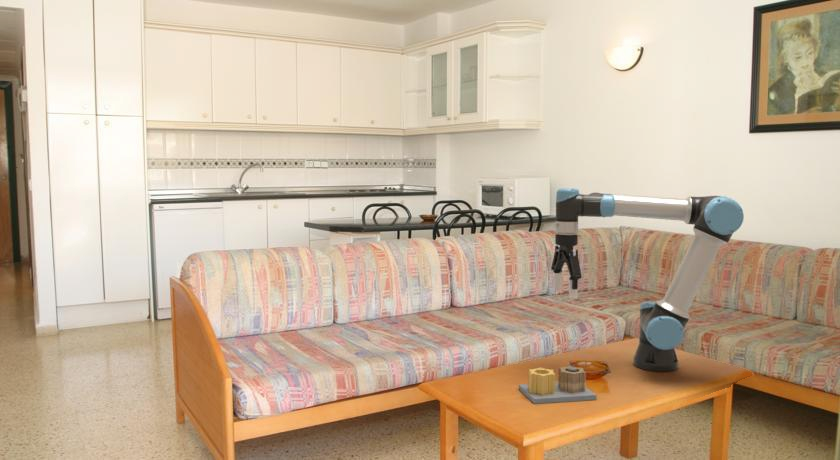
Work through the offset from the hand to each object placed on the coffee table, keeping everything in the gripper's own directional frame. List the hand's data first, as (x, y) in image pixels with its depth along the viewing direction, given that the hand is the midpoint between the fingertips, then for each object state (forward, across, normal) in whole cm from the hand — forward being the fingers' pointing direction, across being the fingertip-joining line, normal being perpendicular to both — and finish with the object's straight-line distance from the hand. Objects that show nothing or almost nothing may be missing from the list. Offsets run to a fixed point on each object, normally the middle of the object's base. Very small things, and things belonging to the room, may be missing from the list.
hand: (565, 294), depth 236 cm
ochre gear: (+25, +23, -17) cm, 38 cm away
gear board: (+27, +23, -12) cm, 37 cm away
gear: (+25, +23, -7) cm, 35 cm away
